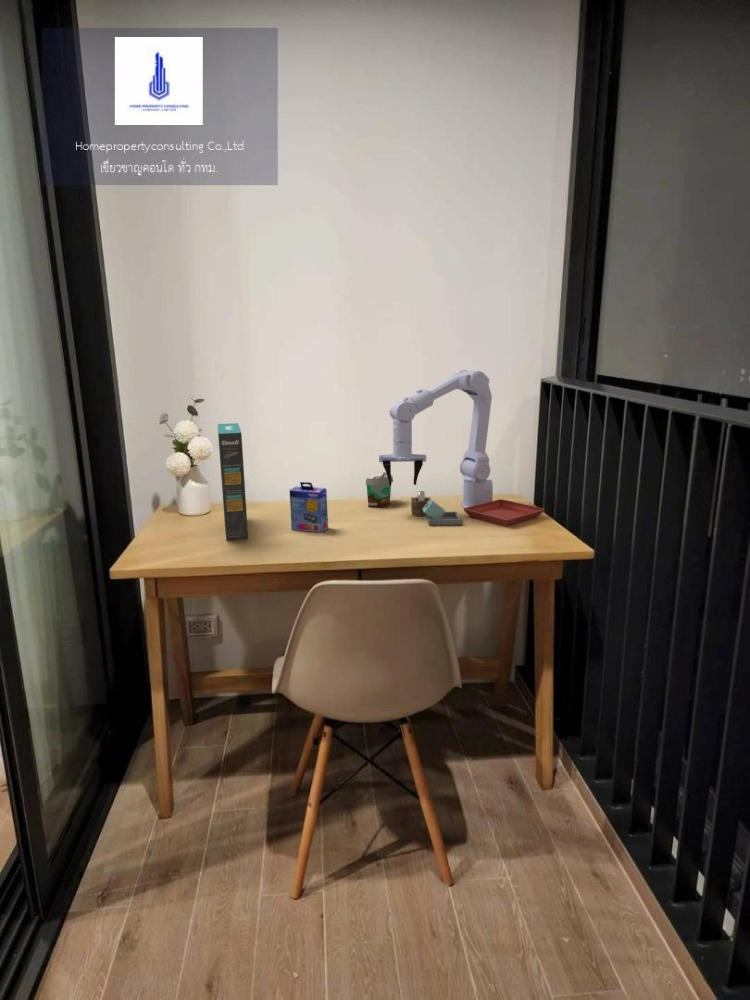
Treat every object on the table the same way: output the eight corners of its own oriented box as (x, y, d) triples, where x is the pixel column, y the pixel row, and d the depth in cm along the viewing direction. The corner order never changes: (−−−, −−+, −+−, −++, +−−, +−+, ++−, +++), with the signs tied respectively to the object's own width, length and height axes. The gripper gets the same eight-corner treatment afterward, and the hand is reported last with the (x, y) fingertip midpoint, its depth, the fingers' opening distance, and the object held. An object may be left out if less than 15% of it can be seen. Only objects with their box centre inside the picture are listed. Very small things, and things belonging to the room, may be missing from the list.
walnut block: (429, 510, 206) (430, 497, 205) (431, 515, 200) (431, 501, 199) (411, 510, 206) (411, 497, 205) (412, 515, 200) (412, 501, 199)
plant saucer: (461, 517, 199) (461, 507, 198) (500, 508, 210) (500, 498, 209) (506, 530, 185) (507, 519, 184) (545, 519, 196) (546, 508, 195)
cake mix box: (224, 520, 198) (217, 423, 191) (244, 518, 200) (237, 423, 193) (226, 540, 178) (218, 433, 171) (248, 538, 179) (241, 432, 172)
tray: (456, 517, 198) (456, 511, 197) (460, 525, 189) (460, 519, 188) (426, 517, 198) (427, 512, 197) (429, 526, 189) (429, 520, 189)
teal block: (443, 508, 195) (430, 498, 194) (445, 511, 191) (432, 501, 190) (435, 518, 195) (422, 508, 194) (437, 521, 191) (423, 512, 190)
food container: (382, 510, 207) (381, 480, 205) (365, 508, 210) (365, 478, 208) (399, 502, 218) (399, 473, 215) (384, 500, 221) (383, 471, 218)
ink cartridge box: (290, 530, 187) (287, 482, 183) (298, 525, 192) (296, 478, 188) (321, 533, 184) (319, 483, 180) (328, 527, 189) (327, 479, 185)
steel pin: (424, 512, 204) (424, 491, 203) (424, 514, 202) (424, 492, 200) (417, 512, 204) (417, 491, 203) (417, 514, 202) (417, 492, 201)
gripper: (378, 443, 192) (379, 487, 195) (427, 442, 192) (426, 487, 195) (378, 440, 199) (379, 482, 202) (425, 439, 198) (425, 482, 202)
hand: (402, 484), depth 199 cm, fingers open, 7 cm apart
